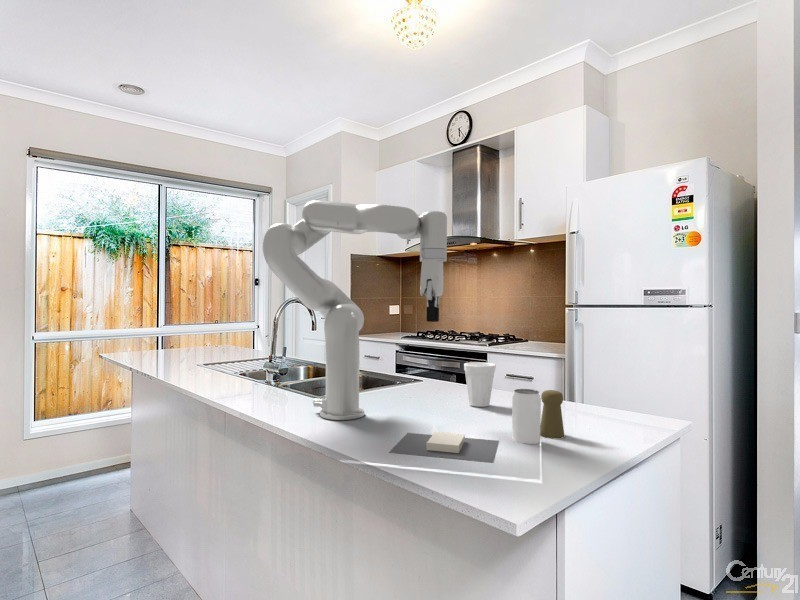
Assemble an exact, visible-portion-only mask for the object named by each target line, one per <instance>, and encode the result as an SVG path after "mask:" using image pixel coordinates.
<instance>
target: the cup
mask: <svg viewBox="0 0 800 600" xmlns="http://www.w3.org/2000/svg"><path fill="white" fill-rule="evenodd" d="M463 371H464V373H465V381H466V389H467V396H468V397H467V398H468V404H469V406H472V407H479V408H480V407H488V406H490V403H491V397H492V396H491V395H492V390H493V383H494V382H493V381H494V376H495V372H496V364H495V363H492V362H491V363H490V362H483V361H482V362H480V361H473V362H472V361H471V362H470V361H469V362H465V363H463Z"/></svg>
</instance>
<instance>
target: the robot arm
mask: <svg viewBox="0 0 800 600" xmlns="http://www.w3.org/2000/svg"><path fill="white" fill-rule="evenodd" d="M301 212H302V213H301V220H299V221H298V222H297V223H295V224H294V225H292V224H288V223H284V222H279V223H278V222H277V223H274V224H273V225H271V226H269V228H268V229H267V231H266V232H265V234H264V236H263V239H262V240H263V241H262V253H263V256H264V260H265V262H266V264H267V267H269V269H270V271H272V273H274V275H275V276H276V277H277V279H279V280H280V281H281V282H282V283H283V284H284V285H285V286H286V287H287V289H288V290H290V292H292V293H293V294H294V295H295V296H296V298H298V299H299V301H300V302H301V303H302V304H303V306H305V307H306V308H307V309H309V310H311V311H315V312H318V313H320V314H321V315H322V316H323V317H324V322H323V323H324V324H323V325H324V326H323V327H324V337H325V340H324V341H325V398H323V399H321V398H314V399H313V402H312V403H313V407H314V408H315V407H317V408H319V407H320V408H321V410H320V411H319V416H320V417H321V418H323V419H327V420H332V421H333V420H334V421H346V420H347V421H348V420H355V419H359V418H362V417H363V416H365V410H364V409H363V408H361V407H360V337H359V336H360V334H359V333H360V331H361V330H362V329H363V327H364V323H365V317H364V313H363V311H362V310H361V308H360V307H359V306H358V305H357V304H356V303H355V302H354V301H353V300H352V299H351V298H350V297H348V295H347V294H346V293H344V292H343V291H342V290H341V288H340V287H339V286H337V285H336V284H335V283H334V282H333V281H331V280H329V279H325V278H322V277H321V276H320V275H318V273H316V272H315V271H314V270H313V269H312V268H310V266H309V264H307V263H306V262H305V261H304V260H303V259H302V258H300V257H299V255H302V254H303V253H304V252H306V251H308V250H309V249H310V248H312V247H313V246H314V245H315V244H317V243H318V242H319V241H321V240H323V239H324V238H325V237H326V236H328V235H329V234H330V233H331V232H332V233H341V234H348V235H350V234H351V235H361V234H362V235H363V234H365V233H369V232H370V233H374V232H375V233H383V234H386V233H387V234H392V235H393V234H394V235H396V236H398V237H399V238H401V239H403V240H415V239H419V262H420V263H421V269H420V285H419V294H420V296H422V297H426V322H427V323H429V322H431V323H432V322H433V323H434V322H435V323H437V322H439V321H440V297H442V296H443V294H444V263H445V262H447V261H448V257H447V255H448V254H447V253H448V215H447V214H446V213H445V212H443V211H439V210H432V211H431V210H430V211H425V212H423V213H422V214H418V213H416V212H415V210H413V209H411V208H409V207H406V206H405V207H404V206H398V205H390V204H378V203H377V204H373V203H371V204H365V203H362V204H360V203H349V202H347V203H346V202H339V201H330V200H319V199H315V200H311V201H308V202H306V203H305V205H304V206H303V208H302V211H301Z"/></svg>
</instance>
